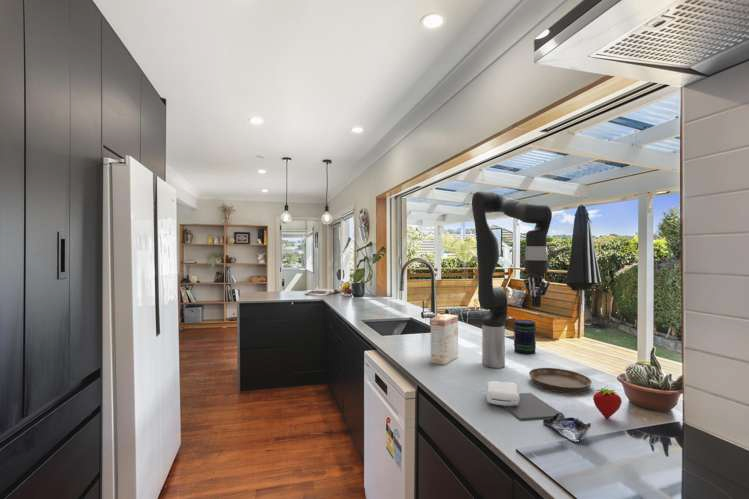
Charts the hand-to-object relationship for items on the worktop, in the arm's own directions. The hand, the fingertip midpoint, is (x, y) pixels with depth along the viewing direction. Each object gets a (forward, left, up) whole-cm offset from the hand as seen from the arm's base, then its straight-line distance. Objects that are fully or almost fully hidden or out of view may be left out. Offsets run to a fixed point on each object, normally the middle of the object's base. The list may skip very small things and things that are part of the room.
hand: (536, 306), depth 138 cm
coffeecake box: (-37, -22, -29) cm, 52 cm away
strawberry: (+28, +5, -29) cm, 41 cm away
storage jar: (-44, +21, -29) cm, 57 cm away
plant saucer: (0, +9, -29) cm, 31 cm away
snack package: (+34, -12, -29) cm, 46 cm away
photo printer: (+7, -16, -26) cm, 32 cm away
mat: (+16, -14, -29) cm, 36 cm away
